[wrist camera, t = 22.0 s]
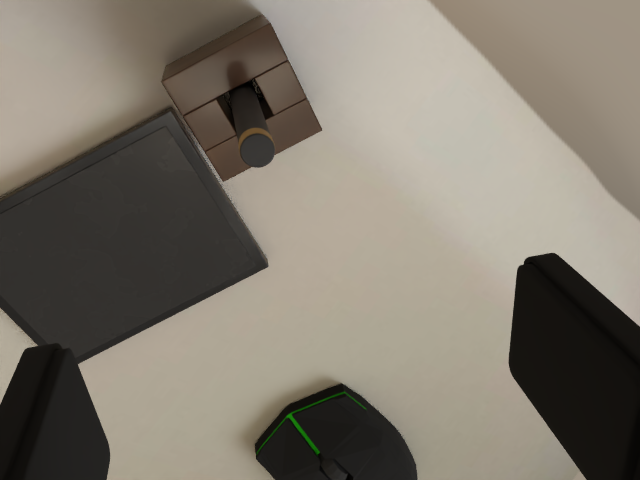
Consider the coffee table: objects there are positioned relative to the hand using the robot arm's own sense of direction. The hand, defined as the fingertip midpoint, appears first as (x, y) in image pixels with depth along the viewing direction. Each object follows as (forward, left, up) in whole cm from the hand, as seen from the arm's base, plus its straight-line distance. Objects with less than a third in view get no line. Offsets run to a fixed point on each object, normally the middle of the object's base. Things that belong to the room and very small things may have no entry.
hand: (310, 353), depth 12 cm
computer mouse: (+32, -8, -24) cm, 41 cm away
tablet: (+5, -12, -24) cm, 28 cm away
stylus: (0, 0, -24) cm, 24 cm away
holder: (0, 0, -24) cm, 24 cm away
